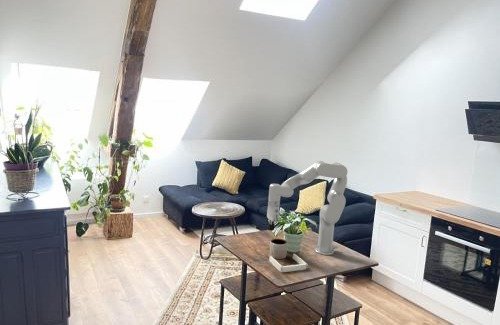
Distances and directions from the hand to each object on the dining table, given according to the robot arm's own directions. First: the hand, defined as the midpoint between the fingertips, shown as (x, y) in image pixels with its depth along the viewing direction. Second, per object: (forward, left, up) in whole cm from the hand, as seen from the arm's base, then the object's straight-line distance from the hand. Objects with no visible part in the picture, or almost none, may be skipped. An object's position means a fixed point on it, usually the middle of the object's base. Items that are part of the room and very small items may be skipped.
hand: (271, 230), depth 241 cm
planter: (-1, +11, -14) cm, 17 cm away
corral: (-1, +24, -14) cm, 28 cm away
